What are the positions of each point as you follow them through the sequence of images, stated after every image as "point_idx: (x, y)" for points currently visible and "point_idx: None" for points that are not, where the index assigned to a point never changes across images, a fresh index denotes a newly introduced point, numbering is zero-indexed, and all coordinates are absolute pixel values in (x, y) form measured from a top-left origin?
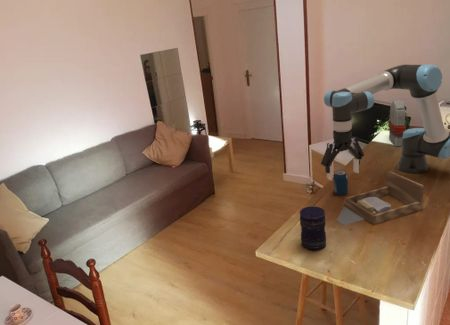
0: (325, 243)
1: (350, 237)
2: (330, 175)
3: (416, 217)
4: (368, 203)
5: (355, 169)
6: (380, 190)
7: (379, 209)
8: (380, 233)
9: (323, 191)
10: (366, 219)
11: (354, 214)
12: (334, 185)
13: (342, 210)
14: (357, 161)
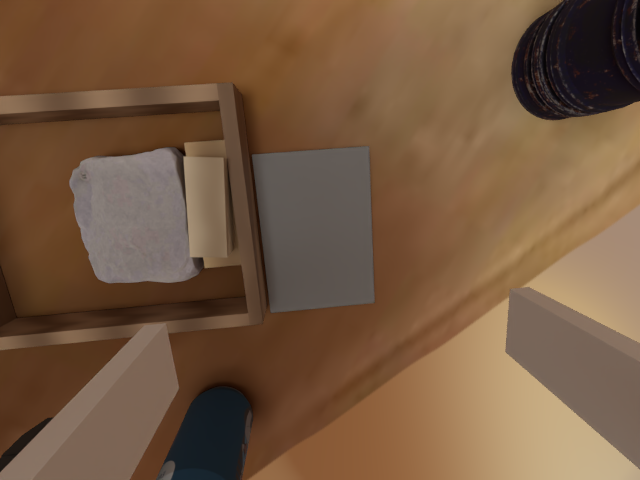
0: (530, 32)
1: (397, 43)
2: (585, 317)
3: (7, 58)
4: (188, 203)
5: (154, 381)
6: (39, 330)
7: (156, 154)
8: (257, 8)
9: (281, 451)
10: (247, 147)
11: (271, 213)
12: (246, 448)
13: (300, 267)
14: (31, 475)
